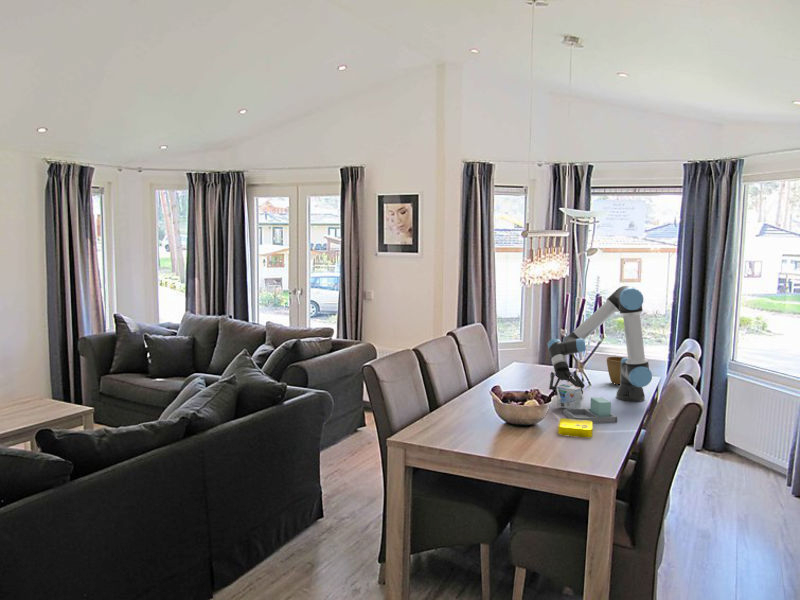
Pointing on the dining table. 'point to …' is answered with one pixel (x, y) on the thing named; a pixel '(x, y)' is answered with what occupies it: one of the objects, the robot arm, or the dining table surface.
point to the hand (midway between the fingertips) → (570, 400)
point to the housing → (587, 415)
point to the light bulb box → (569, 396)
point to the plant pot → (614, 368)
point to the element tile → (575, 427)
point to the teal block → (600, 407)
